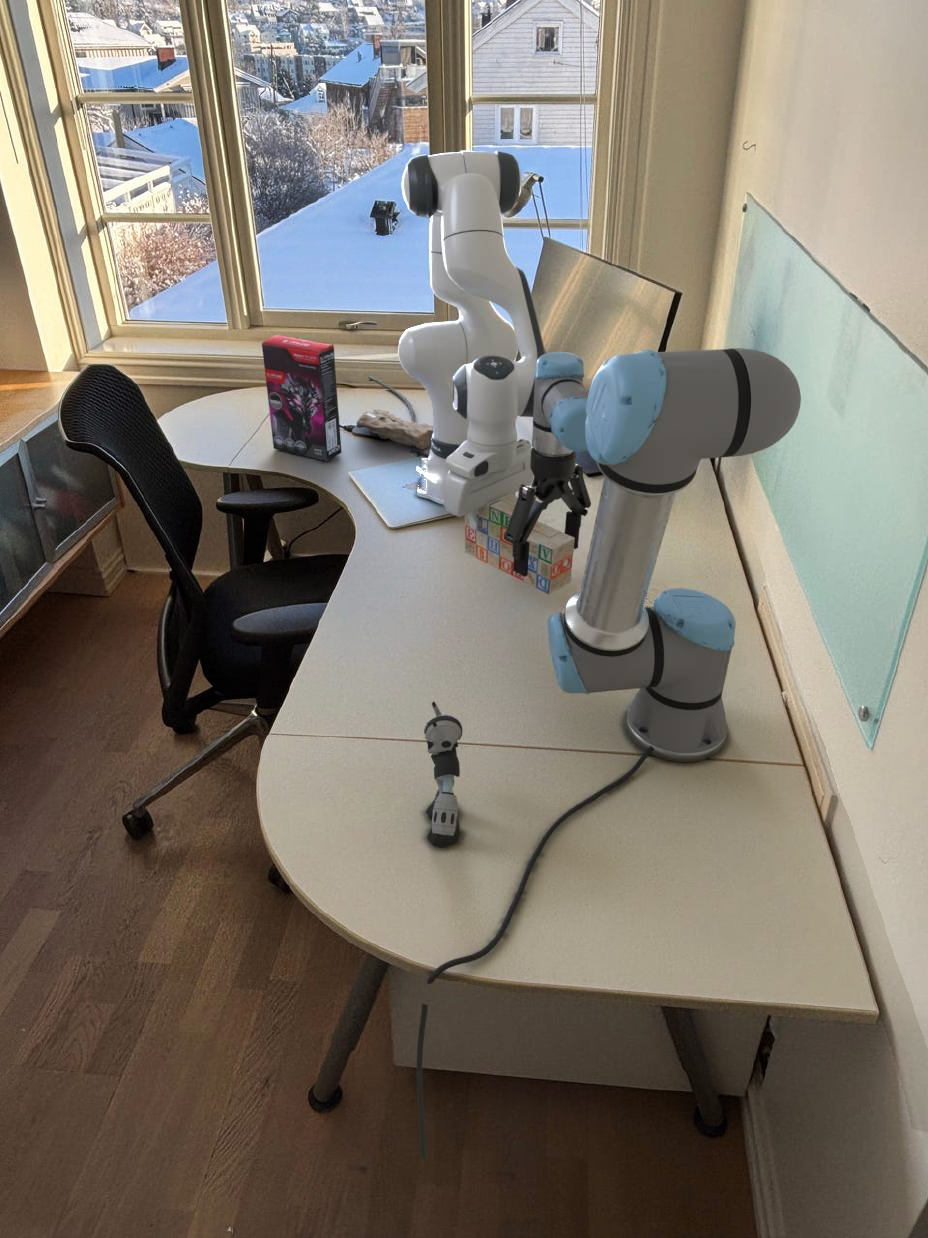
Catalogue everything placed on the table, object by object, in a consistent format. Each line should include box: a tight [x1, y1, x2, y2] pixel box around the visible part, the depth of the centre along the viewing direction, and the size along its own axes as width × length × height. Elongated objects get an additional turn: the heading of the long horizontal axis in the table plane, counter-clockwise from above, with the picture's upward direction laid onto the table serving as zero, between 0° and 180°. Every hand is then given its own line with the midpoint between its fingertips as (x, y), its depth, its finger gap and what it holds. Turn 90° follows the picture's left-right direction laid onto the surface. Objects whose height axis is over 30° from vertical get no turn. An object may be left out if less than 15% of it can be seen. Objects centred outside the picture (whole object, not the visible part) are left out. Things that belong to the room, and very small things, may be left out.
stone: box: [356, 409, 434, 450], centre depth 235 cm, size 21×15×6 cm
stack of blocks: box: [464, 494, 575, 595], centre depth 167 cm, size 21×6×12 cm, turn 45°
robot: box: [423, 701, 463, 848], centre depth 121 cm, size 20×5×20 cm, turn 3°
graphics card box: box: [261, 334, 342, 462], centre depth 222 cm, size 17×7×27 cm, turn 62°
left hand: (489, 520), depth 171 cm, fingers closed on stack of blocks, 6 cm apart
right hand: (546, 559), depth 164 cm, fingers open, 13 cm apart
